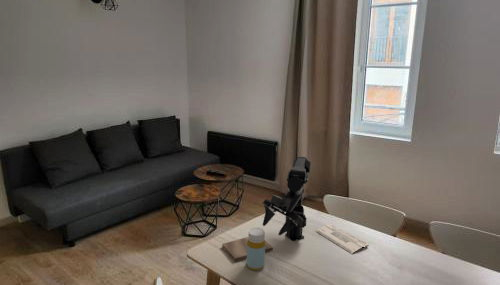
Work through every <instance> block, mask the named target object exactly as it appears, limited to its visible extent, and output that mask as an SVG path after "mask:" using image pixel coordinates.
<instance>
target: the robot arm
mask: <svg viewBox="0 0 500 285" xmlns="http://www.w3.org/2000/svg"><path fill="white" fill-rule="evenodd" d="M292 162H293V163H292V167H291V168H290V170H289V171H288V173H287V178H286V182H287V184H286V185H287V191H286V193H285V194H282V195H281V196H279V195H275V194H272V196H271V199H269V198H266V199H265V200H264V201H263V202H262V204H263V207H264V210H265V212H264V218H263V222H262V226H263V227H265V226H267V224H268V223H269V222H270V221H271V220H272V219H273V217H275V215H276V212H277V213H279V214H280V215H282V216H285V222H284V223H283V225H282V227H281V228H280V230H279V231H278V236H282V235H284V236H286V237H287V238H288V239H290V240H291V241H292V242H295V241H299V240H301V239H305V236H304V235H303V229H304V228H305V227H306V226H307V217H306V214H305V209H304V206H303V205H302V204H303V196H304V193H305V189H304V188H305V185H306V184H307V183H308V180H309V173H311V161H309V159H308V157H306V156H296V158H295V159H294V160H293V161H292Z"/></svg>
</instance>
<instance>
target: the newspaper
mask: <svg viewBox="0 0 500 285" xmlns="http://www.w3.org/2000/svg"><path fill="white" fill-rule="evenodd" d="M315 232H316V234H318V235H319V236H322V237H324V239H327V240H328V241H330V242H331V243H333V244H335V245H336V246H338V247H340V248H341V249H343V250H344V249H345V250H344V251H345V252H348V253H349V254H351V255H353V253H355V252H356V251H359V250H360V249H363V248H362V247H364V246H365V247H367V248H368V247H369V243H368V242H366V241H364V240H362V239H360V238H358V237H356V236H354V235H352V234H350V233H348V232H346V231H344V230H342V229H340V228H339V227H337V226H335V225H334V224H332V223H327V224H326V225H324V226H321V227H319V228H317V229H316V230H315Z"/></svg>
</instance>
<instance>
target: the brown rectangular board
mask: <svg viewBox="0 0 500 285" xmlns="http://www.w3.org/2000/svg"><path fill="white" fill-rule="evenodd" d="M248 238H249V236H246V237H243V238H240V239H234V240H231V241H228V242H225V243H222V244H221V245H222V246H221V247H222V249H223V250H224V251H225V252H226V253H227V255H228V256H229V257H230V258H231V259H232V260H233V261H234V262H235V263H236V262H238V261H242V260H247V241H248ZM264 240H265V254H266V253H269V252H272V251H274V247H273V246H272V245H271V244H270V243H269V242H268V241H267V240H266V239H265V238H264Z"/></svg>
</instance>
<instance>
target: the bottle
mask: <svg viewBox="0 0 500 285" xmlns="http://www.w3.org/2000/svg"><path fill="white" fill-rule="evenodd" d="M265 234H266V233H265V230H264V229H263V228H261V227H252V228H249V230H248V236H247V237H249V238H248V241H247V258H246V266H247V268H248V269H250V270H251V271H255V272H256V271H261V270H262V269H263V268H264V267H265V263H266V261H265V259H266V253H265V240H266V239H265V237H266V236H265ZM264 239H265V240H264Z"/></svg>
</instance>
